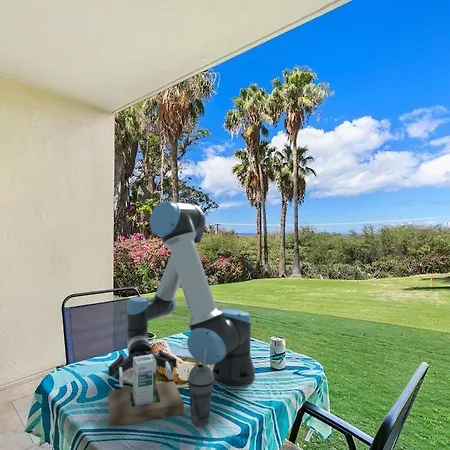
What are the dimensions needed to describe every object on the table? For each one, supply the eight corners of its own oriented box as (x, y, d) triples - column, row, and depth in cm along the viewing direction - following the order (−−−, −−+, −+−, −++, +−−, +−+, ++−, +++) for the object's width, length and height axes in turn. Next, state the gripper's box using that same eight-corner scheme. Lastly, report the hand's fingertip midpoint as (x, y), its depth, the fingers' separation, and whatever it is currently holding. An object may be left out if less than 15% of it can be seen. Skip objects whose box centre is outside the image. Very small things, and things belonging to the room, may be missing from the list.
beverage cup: (187, 414, 94) (188, 344, 94) (213, 413, 95) (214, 343, 94) (186, 431, 87) (187, 354, 86) (214, 429, 87) (215, 354, 87)
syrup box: (136, 415, 94) (136, 363, 93) (132, 404, 99) (132, 355, 99) (156, 410, 96) (156, 360, 96) (151, 400, 101) (152, 352, 101)
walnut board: (174, 390, 107) (174, 381, 107) (183, 414, 94) (183, 403, 94) (108, 400, 101) (108, 390, 101) (108, 427, 88) (108, 416, 88)
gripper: (175, 356, 118) (189, 384, 98) (100, 366, 110) (99, 398, 90) (175, 335, 118) (189, 359, 98) (101, 343, 110) (99, 371, 90)
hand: (146, 378), depth 94 cm, fingers open, 13 cm apart
